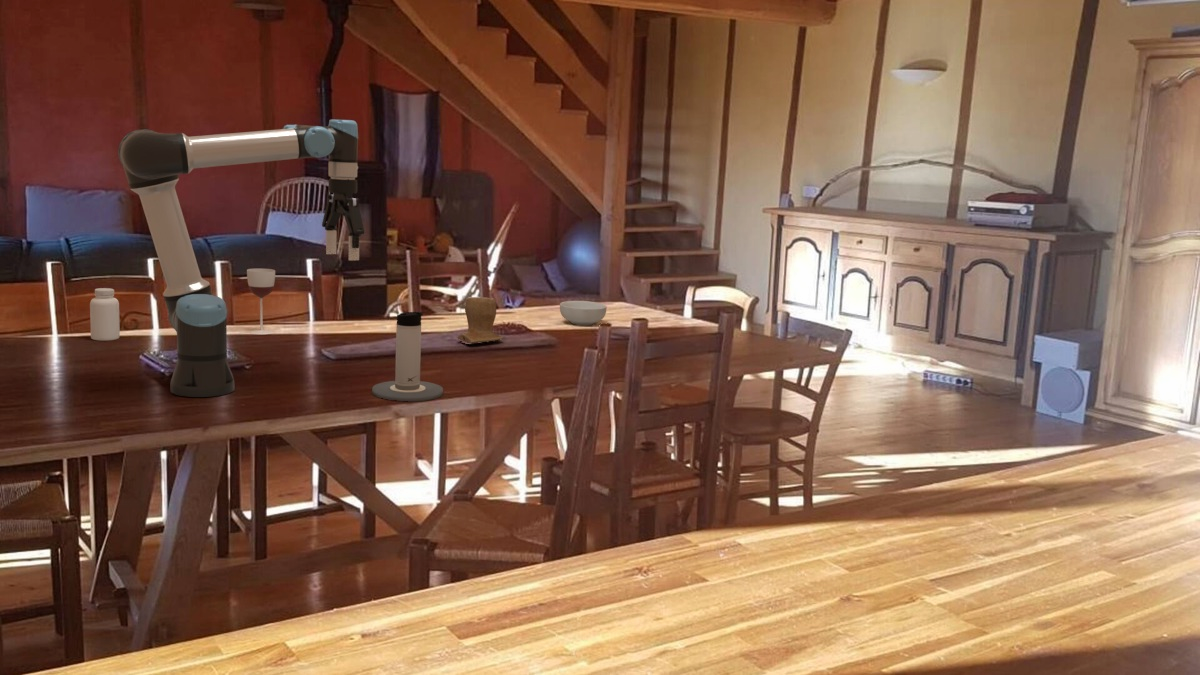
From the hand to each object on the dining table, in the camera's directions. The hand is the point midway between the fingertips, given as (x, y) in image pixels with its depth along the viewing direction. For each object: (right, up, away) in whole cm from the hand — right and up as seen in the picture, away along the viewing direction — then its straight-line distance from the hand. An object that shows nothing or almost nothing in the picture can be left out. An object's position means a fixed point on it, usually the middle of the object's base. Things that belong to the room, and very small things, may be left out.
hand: (342, 257), depth 296 cm
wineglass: (-39, -20, +53) cm, 69 cm away
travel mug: (+20, -35, -15) cm, 43 cm away
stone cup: (+30, -24, +56) cm, 68 cm away
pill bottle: (-79, -22, +31) cm, 87 cm away
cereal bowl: (+64, -17, +101) cm, 120 cm away
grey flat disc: (+20, -36, -14) cm, 44 cm away
